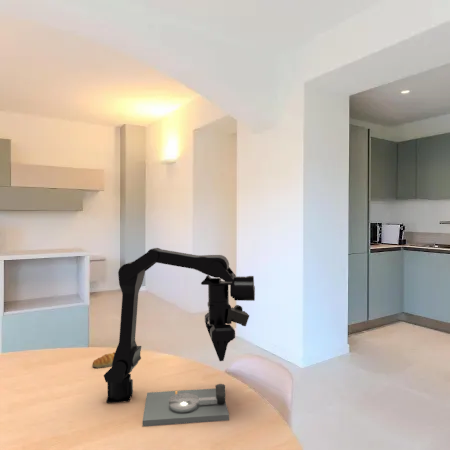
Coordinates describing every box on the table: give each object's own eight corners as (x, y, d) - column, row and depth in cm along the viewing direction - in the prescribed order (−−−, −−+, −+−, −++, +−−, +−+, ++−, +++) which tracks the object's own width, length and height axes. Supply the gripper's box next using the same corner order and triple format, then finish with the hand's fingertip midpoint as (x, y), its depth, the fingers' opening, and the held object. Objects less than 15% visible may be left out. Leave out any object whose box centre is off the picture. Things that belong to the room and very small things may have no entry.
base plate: (142, 426, 99) (142, 419, 99) (147, 397, 115) (147, 391, 115) (229, 420, 102) (229, 413, 102) (221, 392, 117) (221, 387, 117)
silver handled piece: (168, 413, 102) (168, 395, 101) (169, 399, 110) (169, 382, 109) (227, 409, 104) (227, 392, 103) (223, 396, 111) (223, 379, 111)
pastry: (96, 371, 135) (96, 360, 135) (89, 365, 141) (89, 355, 141) (122, 364, 141) (122, 354, 141) (114, 359, 147) (114, 349, 147)
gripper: (253, 306, 103) (254, 365, 103) (240, 292, 121) (240, 343, 122) (211, 308, 101) (212, 368, 101) (204, 294, 120) (204, 345, 120)
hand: (219, 355), depth 111 cm, fingers open, 9 cm apart
